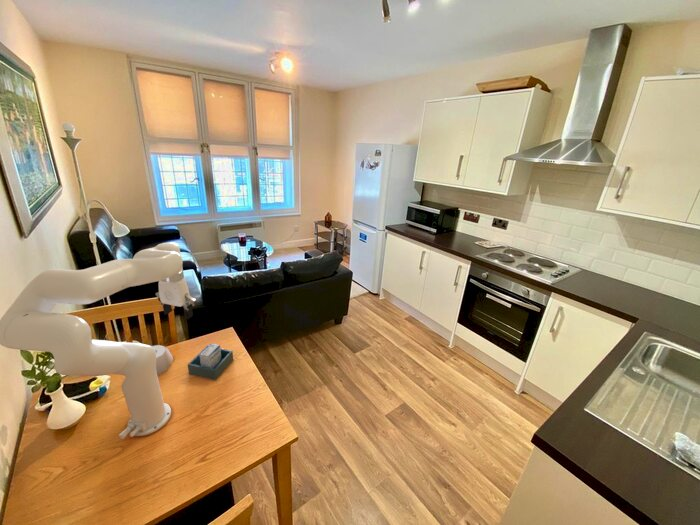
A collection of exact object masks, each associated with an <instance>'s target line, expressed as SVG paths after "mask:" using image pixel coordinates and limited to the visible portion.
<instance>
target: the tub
mask: <svg viewBox="0 0 700 525" xmlns="http://www.w3.org/2000/svg"><path fill="white" fill-rule="evenodd" d="M208 346H209V345H206V346H205V347H204V348H203V349H202V350H201V351H200V352H199V353H198V354H197V355H196V356H195V357H193V359H192V360H191V361H189V362H188V363H187V369H188V375H190V376H191V375H192V376H196V377H200V378H204V379H208V380H213V381H217V379H219V377H220V376H222V374H223V373H224V372H225V371H226V369H227V368H228V367H229V366H230V365H231V364H232V362H234V354H233V353H234V352H233V350H230V349H226V348H221V347H220V350H221V358H222V361H221V362H220V363H219V364H218V365H217V366H216V367H215V368H214V369H211V368H207V367H203V366H201V362H200V356H199V355H200V354H201V353H202V352H203V351H204V350H205V349H206V348H207V347H208Z"/></svg>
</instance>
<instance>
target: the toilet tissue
mask: <svg viewBox="0 0 700 525" xmlns="http://www.w3.org/2000/svg"><path fill="white" fill-rule="evenodd" d="M150 346H151V347H153V348H154V349H155V351H156V372H157V377H159V376H160V375H162V374H163V373H165V372H166V371H167V370H168V369H169V367H170V366H171V365H172V363H173V361H174V356H173V355H172V353H171V351H170V350H169V348H168V347H166V346H165V345H160V344H155V345H150Z"/></svg>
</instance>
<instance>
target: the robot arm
mask: <svg viewBox="0 0 700 525" xmlns="http://www.w3.org/2000/svg"><path fill="white" fill-rule="evenodd" d="M183 263H184V260H183V258H182V254H181V249H180V245H179V244H178V243H176V242H162V243H159V244H157V245H155V246H154V247H149V248H145V249H142V250H139V251H138V252H136V253H135V254H134V256H133V257H132V258H118V259H113V260H110V261H106V262H103V263H100V264H98V265H94V266H90V267H87V268H84V269H66V268H50V269H46V270H44V271H42V272H40V273H39V274H37V275H36V276H35V277H34V278H33V279H32V280H31V281H30V282H29V283H28V284H27V285H26V286H25V287H24V288H23V290H22V291H21V292H20V294H18V296H17V297H16V299H15V300H14V301H13V303H12V304H11V305H10V306H9V307H8V308H7V310H6V311H5V312H4V314H3V315H2V316H1V318H0V346H1V347H4V348H7V349H12V350H21V351H33V352H45V353H50V354H52V356H53V362H54V363H53V364H54V370H55V372H56V373H57V374H59V375H61V376H86V377H87V376H88V377H102V376H108V375H119V376H124V377H125V378H124V380H123V382H122V384H121V390H122V394H123V397H124V399H125V400H124V401H125V403H126V407H127V409H128V413H129V417H130V418H129V419H128V420H127V425H126V428H125V429H124V430H122V431H121V432H120V433H119V434H118V438H119V439H120V440H124V439H125V438H126V437H127V436H129V437H130V438H134V436H135V437H143V436H147V435H151V434H154V433H155V432H157V431H158V430H160V429H162V428H163V427H164V426H165V425H166V424H168V421H170V418H171V416H172V409H171V407H170V405H169V404H168V403H166V402H164V398H163V394H162V390H161V384H160V381H159V376H157V372H156V351H155V349H154V348H153V347H151V346H152V345H150V344H147V343H146V344H145V343H140V342H139V343H138V342H124V341H114V340H113V341H112V340H105V339H94V338H92V337H93V336H92V329H91V327H90V325H89V323H88V322H87V321H85V320H84V319H83V318H82V317H80V316H77V315H74V314H68V313H58V312H52V311H53V310H54V308H55V306H56V304H64V305H65V304H67V305H77V306H78V305H90V304H93V303H96V302H98V301H100V300H103V299H105V298H107V297H110V296H112V295H114V294H115V293H118V292H121V291H123V290H125V289H128V288H130V287H136V286H142V285H146V284H151V283H155V282H158V292H155V296H156V297H157V300H158V301H159V302H160V306H162V309H163V314H164V315H168V314H171V312H173V308H172V306H174V307H180V308H181V307H183V309H184V317H185V320H189V319H190V318H192V317H193V316H194V312H193V308H194V307H195V306H196V303H197V299H196V298H194V297H192V296H191V294H190V289H189V285H188V282H187V280H186V278H185V275H184V269H183Z"/></svg>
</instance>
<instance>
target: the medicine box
mask: <svg viewBox="0 0 700 525" xmlns="http://www.w3.org/2000/svg"><path fill="white" fill-rule="evenodd" d="M207 346H208V347H207ZM207 346H206V347H207V348H206V347H205V348H206V349H205V350H204V351H203V352H202V353H201V354H200V355H199V356H200V362H201V366H203V367H207V368H211V369H214V368H215V367H216V366H217V365H218V364H219V363H220V362H221V361H222V358H221V350H220V348H221V345H220V344H216V343H210V344H209V345H207Z"/></svg>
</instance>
